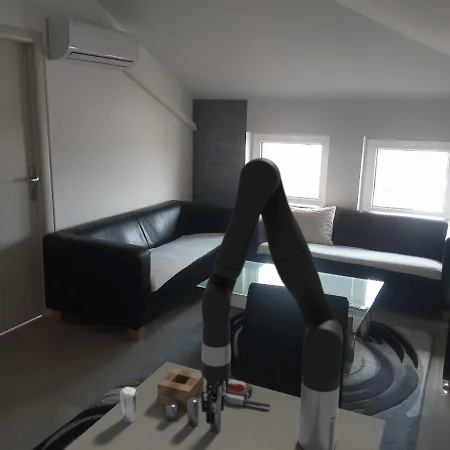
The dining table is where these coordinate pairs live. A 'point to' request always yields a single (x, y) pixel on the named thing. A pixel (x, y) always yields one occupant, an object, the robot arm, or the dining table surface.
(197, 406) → the pin medium
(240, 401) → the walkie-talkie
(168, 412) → the pin short
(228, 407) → the dining table surface
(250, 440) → the dining table surface
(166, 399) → the hole block
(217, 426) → the pin long
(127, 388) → the milkshake
